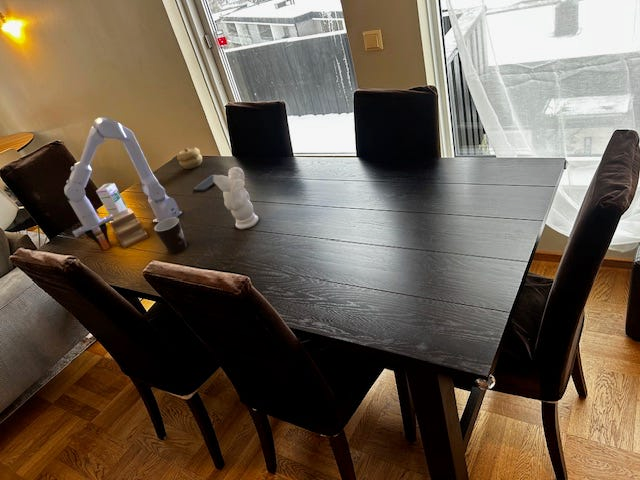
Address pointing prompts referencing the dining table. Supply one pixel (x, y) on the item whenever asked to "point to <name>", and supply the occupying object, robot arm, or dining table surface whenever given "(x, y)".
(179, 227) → the coffee mug
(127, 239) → the step shelf
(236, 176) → the cherub figurine
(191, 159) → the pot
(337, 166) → the dining table surface
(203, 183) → the cell phone
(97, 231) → the travel mug
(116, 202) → the syrup box
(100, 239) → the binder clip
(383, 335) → the dining table surface
